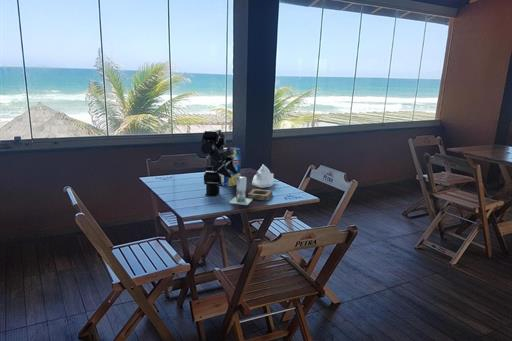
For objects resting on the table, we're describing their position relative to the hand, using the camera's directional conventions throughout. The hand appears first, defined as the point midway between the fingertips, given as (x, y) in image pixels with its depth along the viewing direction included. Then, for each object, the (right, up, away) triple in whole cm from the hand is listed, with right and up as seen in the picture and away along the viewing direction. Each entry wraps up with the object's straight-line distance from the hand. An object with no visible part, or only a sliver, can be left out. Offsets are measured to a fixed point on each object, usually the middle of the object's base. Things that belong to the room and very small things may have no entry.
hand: (233, 175), depth 194 cm
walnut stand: (+14, -12, +11) cm, 21 cm away
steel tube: (+3, -13, +2) cm, 14 cm away
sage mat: (+4, -14, +2) cm, 14 cm away
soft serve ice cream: (+16, -7, +36) cm, 40 cm away
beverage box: (-5, -6, +35) cm, 36 cm away
